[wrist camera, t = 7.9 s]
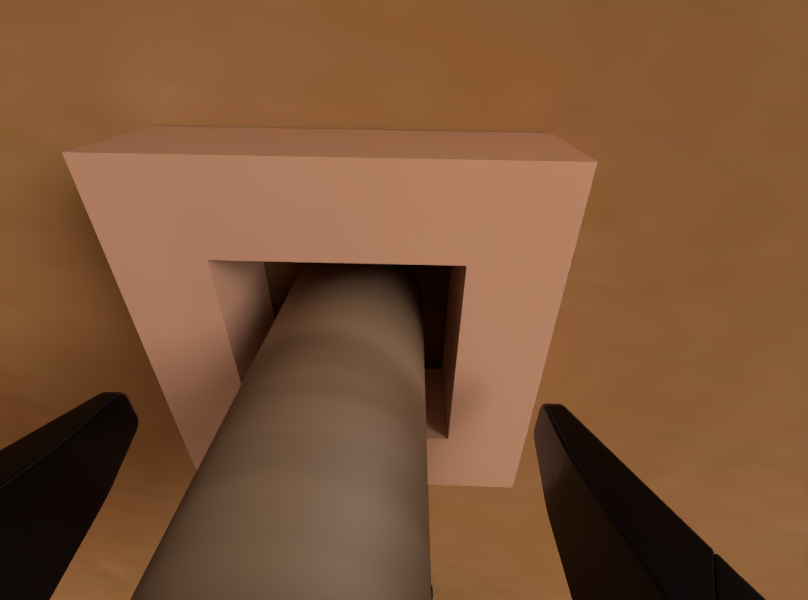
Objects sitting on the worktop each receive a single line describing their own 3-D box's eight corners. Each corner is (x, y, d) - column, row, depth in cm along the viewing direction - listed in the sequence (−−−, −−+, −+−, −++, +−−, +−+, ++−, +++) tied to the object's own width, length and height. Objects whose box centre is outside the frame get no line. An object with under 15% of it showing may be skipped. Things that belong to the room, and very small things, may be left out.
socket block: (496, 413, 15) (512, 487, 13) (234, 407, 15) (199, 478, 13) (550, 133, 10) (597, 161, 7) (150, 126, 10) (61, 151, 8)
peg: (420, 350, 14) (427, 726, 6) (303, 347, 14) (165, 717, 6) (425, 242, 12) (444, 613, 4) (287, 238, 12) (45, 600, 4)
